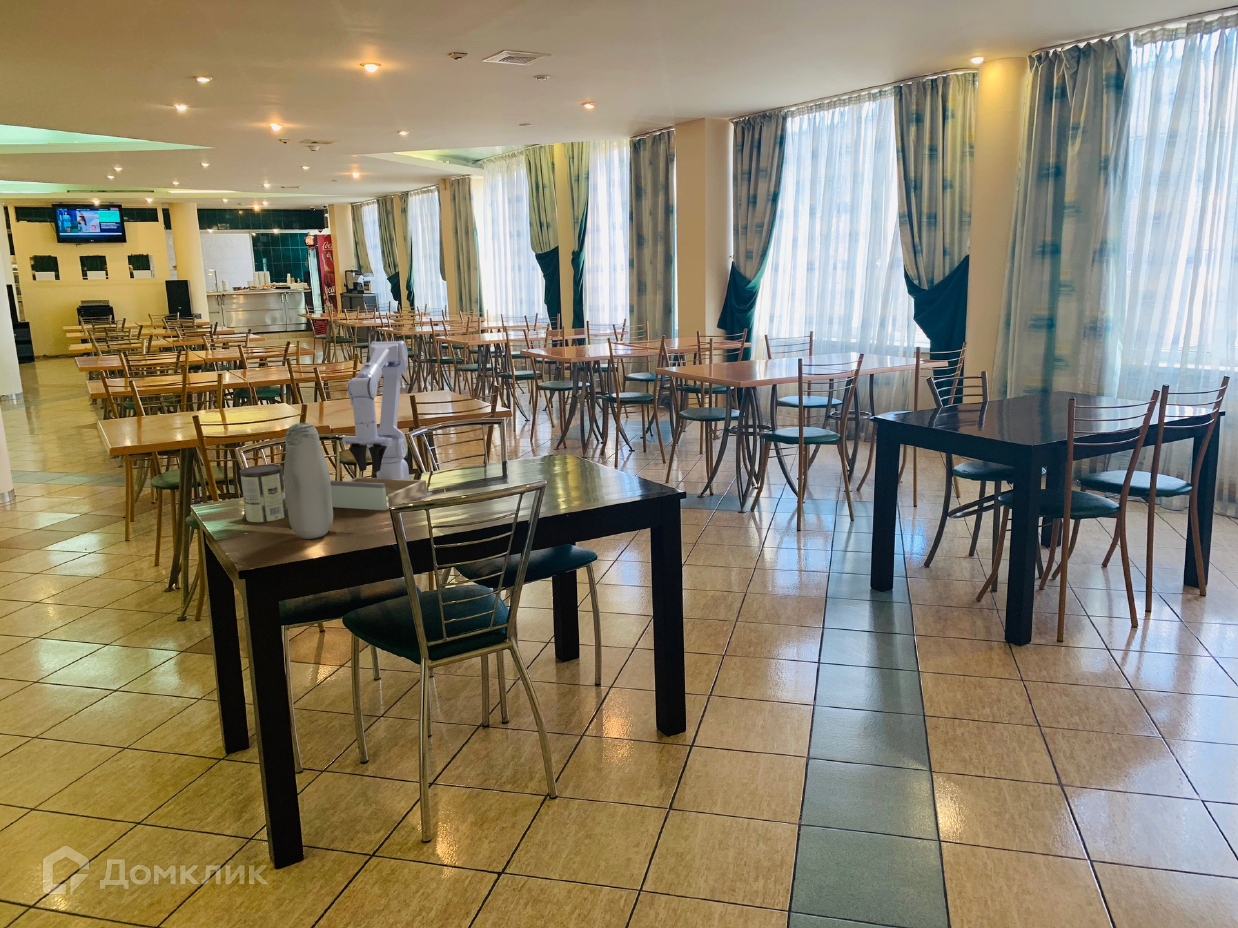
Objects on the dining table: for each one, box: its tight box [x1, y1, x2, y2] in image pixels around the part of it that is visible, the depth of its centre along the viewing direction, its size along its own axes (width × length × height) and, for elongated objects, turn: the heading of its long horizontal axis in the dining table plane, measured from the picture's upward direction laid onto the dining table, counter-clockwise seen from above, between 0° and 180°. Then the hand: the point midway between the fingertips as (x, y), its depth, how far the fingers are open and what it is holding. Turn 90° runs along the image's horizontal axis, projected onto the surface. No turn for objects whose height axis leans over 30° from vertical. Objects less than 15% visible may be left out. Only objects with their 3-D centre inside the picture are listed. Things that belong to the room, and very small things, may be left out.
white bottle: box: [283, 422, 334, 540], centre depth 212 cm, size 10×10×28 cm
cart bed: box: [348, 476, 428, 510], centre depth 246 cm, size 17×22×5 cm
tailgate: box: [330, 480, 388, 511], centre depth 236 cm, size 1×19×7 cm, turn 71°
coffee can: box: [239, 463, 288, 527], centre depth 230 cm, size 10×10×14 cm
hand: (370, 471), depth 243 cm, fingers open, 4 cm apart
